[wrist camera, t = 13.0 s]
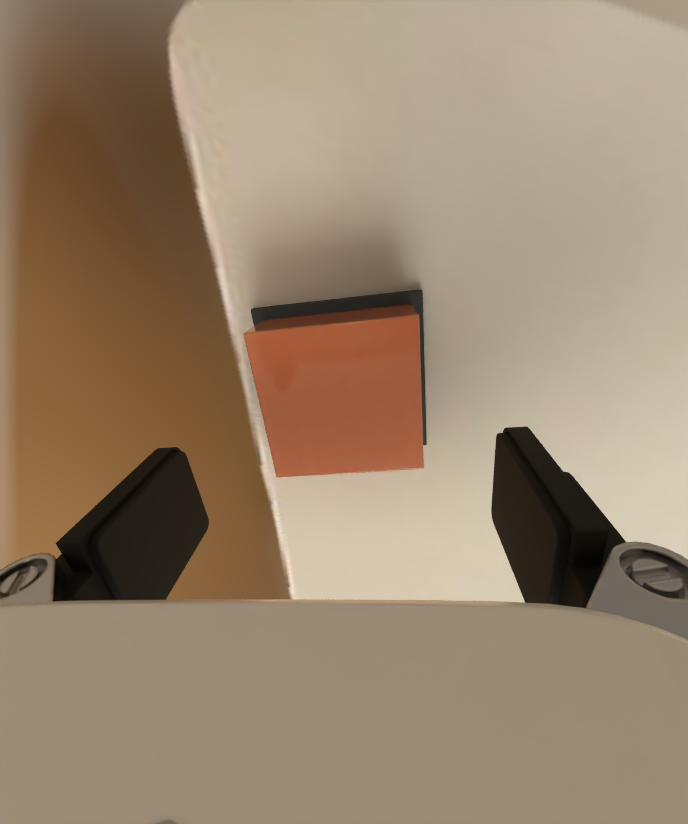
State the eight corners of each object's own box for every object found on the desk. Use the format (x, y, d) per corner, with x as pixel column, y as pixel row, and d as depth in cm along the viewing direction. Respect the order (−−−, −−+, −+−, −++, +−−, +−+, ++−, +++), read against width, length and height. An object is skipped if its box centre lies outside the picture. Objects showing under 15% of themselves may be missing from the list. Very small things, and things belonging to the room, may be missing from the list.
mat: (421, 289, 17) (422, 290, 17) (425, 441, 21) (426, 445, 20) (252, 308, 18) (250, 309, 18) (283, 451, 22) (281, 454, 21)
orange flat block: (411, 303, 17) (419, 314, 15) (417, 439, 20) (424, 469, 18) (262, 319, 18) (242, 333, 15) (288, 447, 21) (276, 477, 18)
